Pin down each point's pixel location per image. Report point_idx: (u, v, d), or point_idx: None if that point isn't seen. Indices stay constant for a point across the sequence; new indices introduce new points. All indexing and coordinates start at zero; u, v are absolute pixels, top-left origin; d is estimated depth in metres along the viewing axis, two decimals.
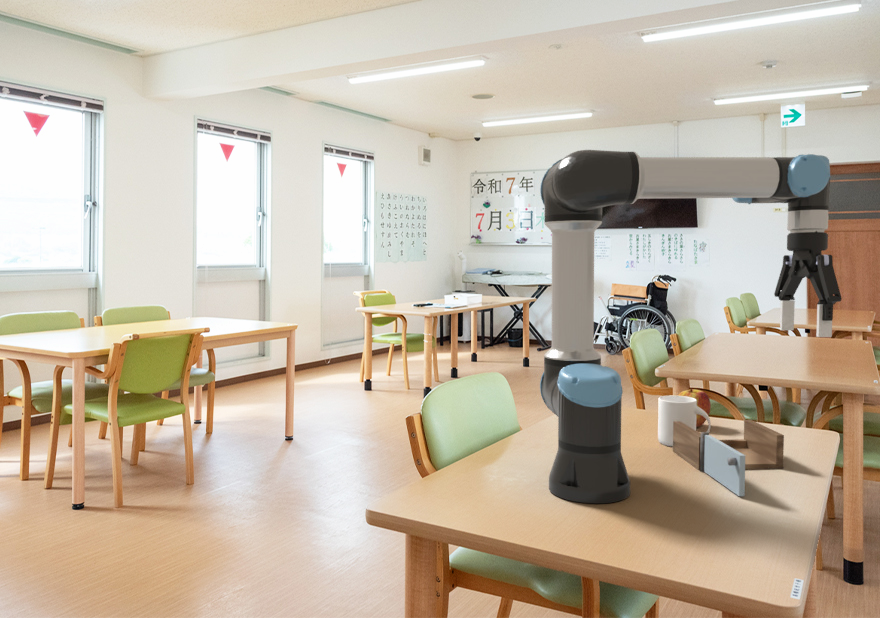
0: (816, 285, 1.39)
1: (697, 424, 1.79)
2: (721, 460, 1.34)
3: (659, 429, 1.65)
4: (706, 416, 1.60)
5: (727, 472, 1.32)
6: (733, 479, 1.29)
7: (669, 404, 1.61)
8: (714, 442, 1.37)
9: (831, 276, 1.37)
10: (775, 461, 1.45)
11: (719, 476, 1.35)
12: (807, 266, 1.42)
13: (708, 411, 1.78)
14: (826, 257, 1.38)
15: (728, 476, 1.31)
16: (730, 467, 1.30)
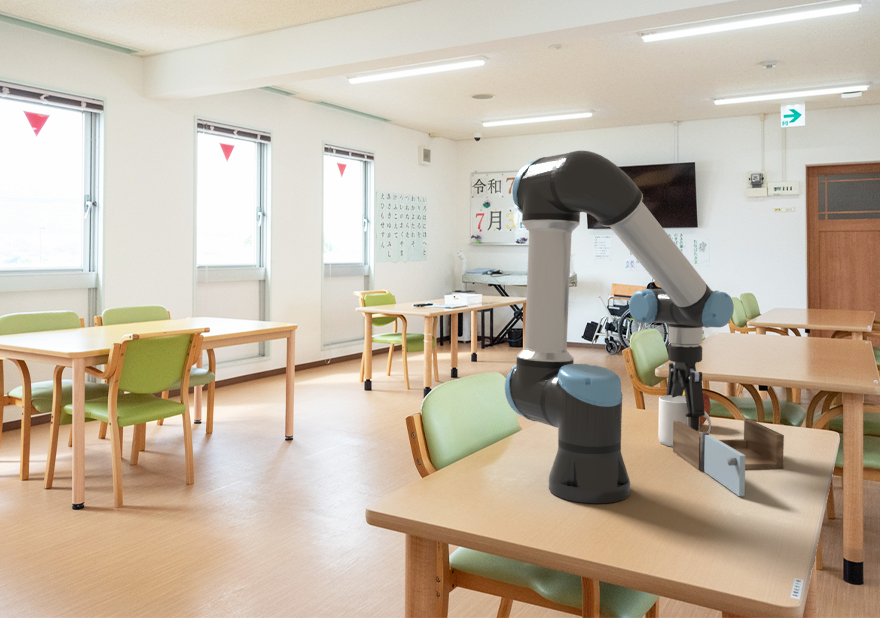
0: (687, 398, 1.59)
1: None
2: (721, 460, 1.34)
3: (659, 429, 1.65)
4: (706, 416, 1.60)
5: (727, 472, 1.32)
6: (733, 479, 1.29)
7: (669, 404, 1.61)
8: (714, 442, 1.37)
9: (699, 392, 1.56)
10: (775, 461, 1.45)
11: (719, 476, 1.35)
12: (683, 377, 1.61)
13: (708, 411, 1.78)
14: (697, 375, 1.57)
15: (728, 476, 1.31)
16: (730, 467, 1.30)
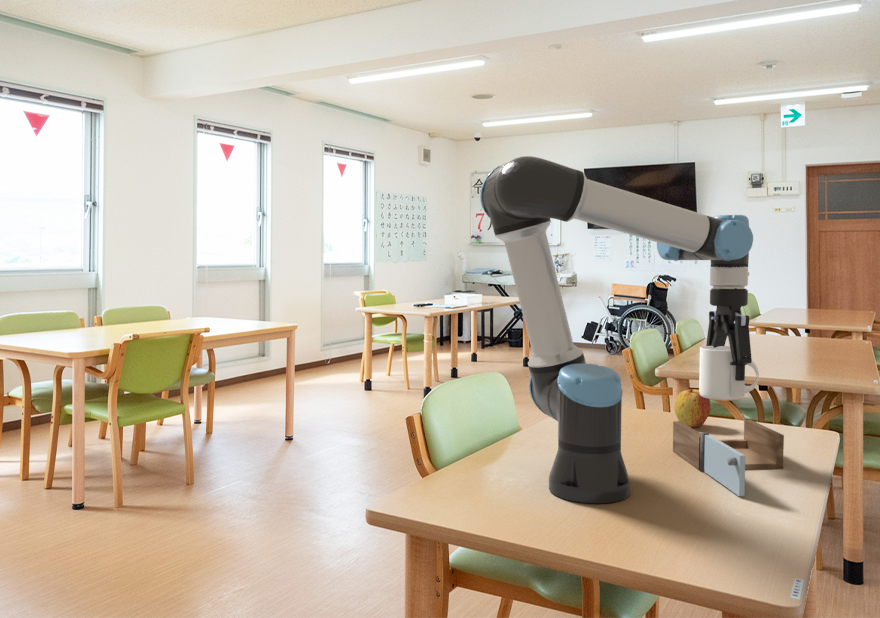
0: (732, 344, 1.45)
1: (697, 424, 1.79)
2: (721, 460, 1.34)
3: (701, 381, 1.50)
4: (754, 366, 1.46)
5: (727, 472, 1.32)
6: (733, 479, 1.29)
7: (713, 353, 1.47)
8: (714, 442, 1.37)
9: (745, 338, 1.43)
10: (775, 461, 1.45)
11: (719, 476, 1.35)
12: (727, 323, 1.47)
13: (708, 411, 1.78)
14: (744, 319, 1.43)
15: (728, 476, 1.31)
16: (730, 467, 1.30)
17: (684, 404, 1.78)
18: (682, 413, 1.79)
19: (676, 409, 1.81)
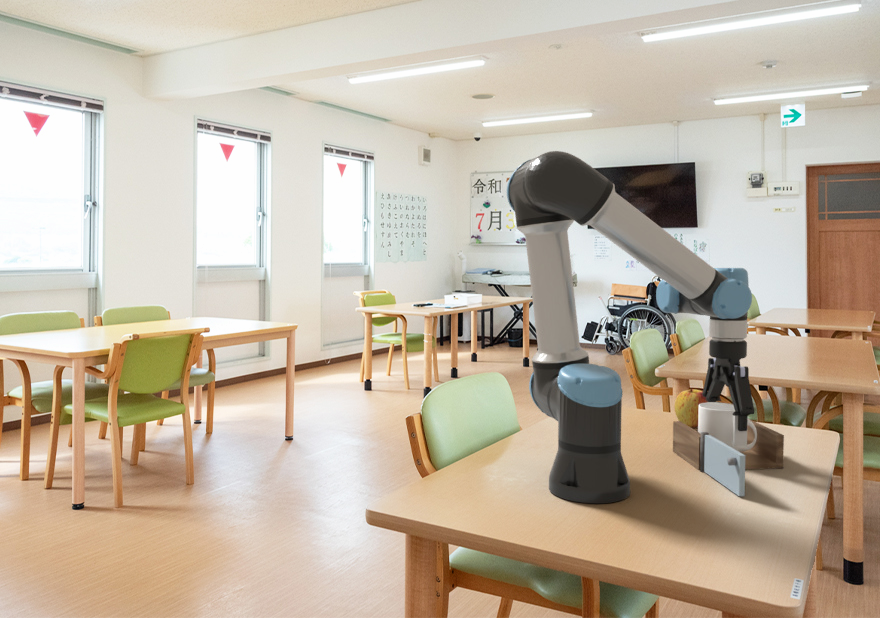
0: (733, 395, 1.45)
1: (697, 424, 1.79)
2: (721, 460, 1.34)
3: None
4: (752, 425, 1.47)
5: (727, 472, 1.32)
6: (733, 479, 1.29)
7: (711, 412, 1.48)
8: (714, 442, 1.37)
9: (746, 388, 1.42)
10: (775, 461, 1.45)
11: (719, 476, 1.35)
12: (726, 374, 1.47)
13: None
14: (743, 369, 1.43)
15: (728, 476, 1.31)
16: (730, 467, 1.30)
17: (684, 404, 1.78)
18: (682, 413, 1.79)
19: (676, 409, 1.81)
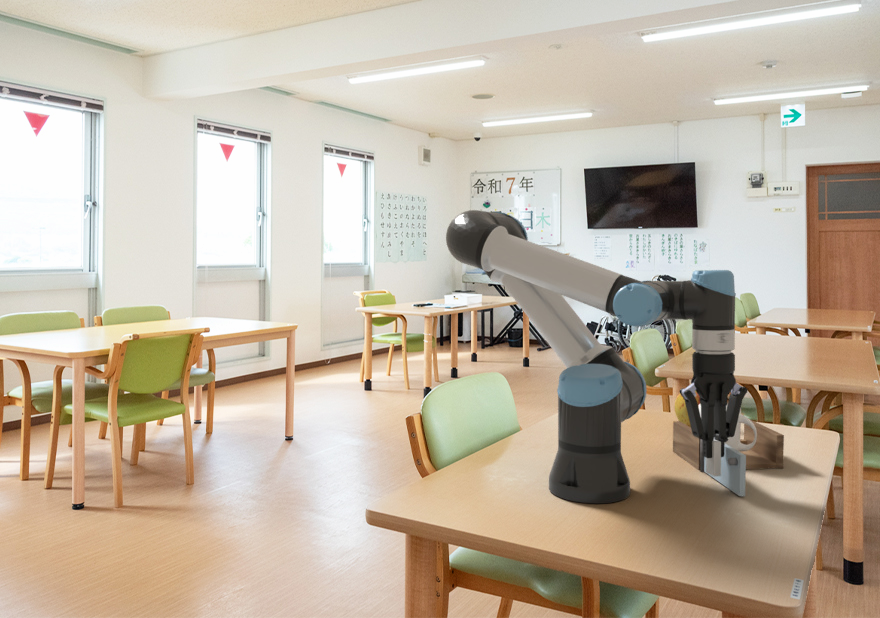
0: None
1: None
2: (721, 460, 1.34)
3: None
4: (752, 425, 1.47)
5: (727, 472, 1.32)
6: (734, 479, 1.29)
7: None
8: None
9: (691, 413, 1.31)
10: (775, 461, 1.45)
11: (719, 476, 1.35)
12: None
13: None
14: (683, 394, 1.30)
15: (728, 476, 1.31)
16: (730, 467, 1.30)
17: (684, 404, 1.78)
18: (682, 413, 1.79)
19: (676, 409, 1.81)
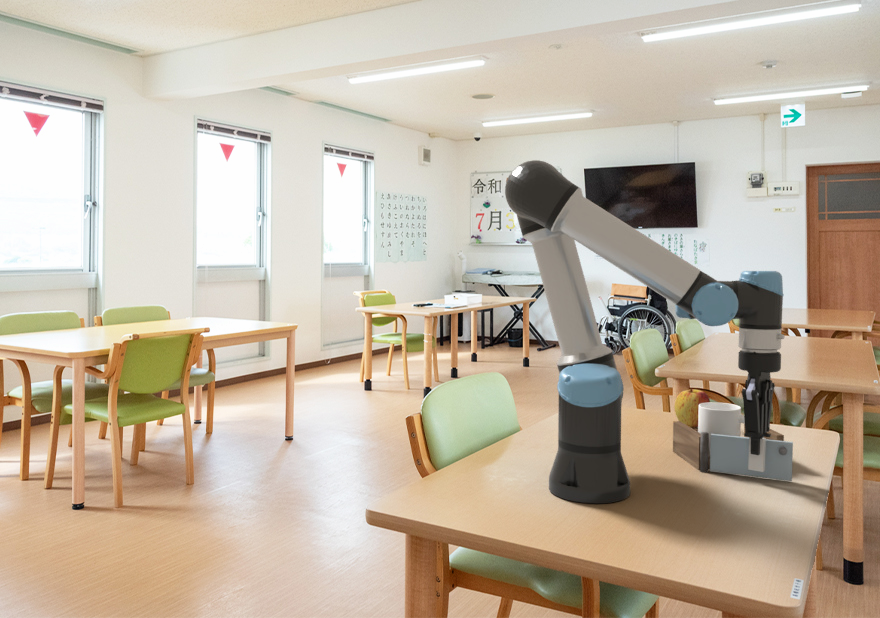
0: None
1: (697, 424, 1.79)
2: None
3: None
4: None
5: (765, 463, 1.37)
6: (778, 467, 1.36)
7: (711, 412, 1.48)
8: (734, 438, 1.40)
9: (752, 413, 1.31)
10: None
11: (746, 469, 1.39)
12: None
13: None
14: (749, 394, 1.30)
15: (767, 467, 1.37)
16: (771, 457, 1.37)
17: (684, 404, 1.78)
18: (682, 413, 1.79)
19: (676, 409, 1.81)
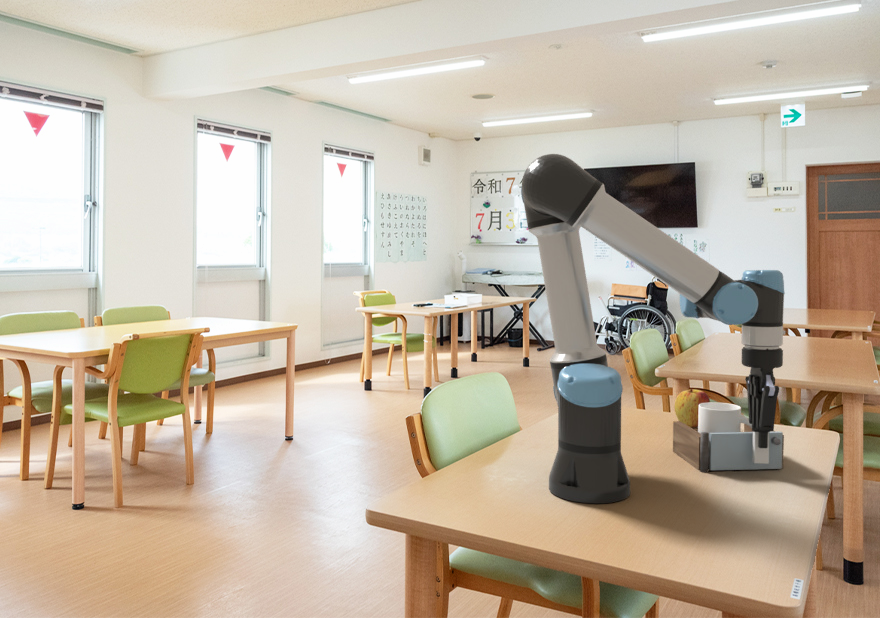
0: (757, 411, 1.38)
1: (697, 424, 1.79)
2: (747, 447, 1.43)
3: None
4: None
5: None
6: (771, 457, 1.43)
7: (711, 412, 1.48)
8: (732, 435, 1.43)
9: (771, 408, 1.35)
10: None
11: (743, 464, 1.43)
12: (757, 387, 1.38)
13: None
14: (772, 391, 1.33)
15: None
16: None
17: (684, 404, 1.78)
18: (682, 413, 1.79)
19: (676, 409, 1.81)
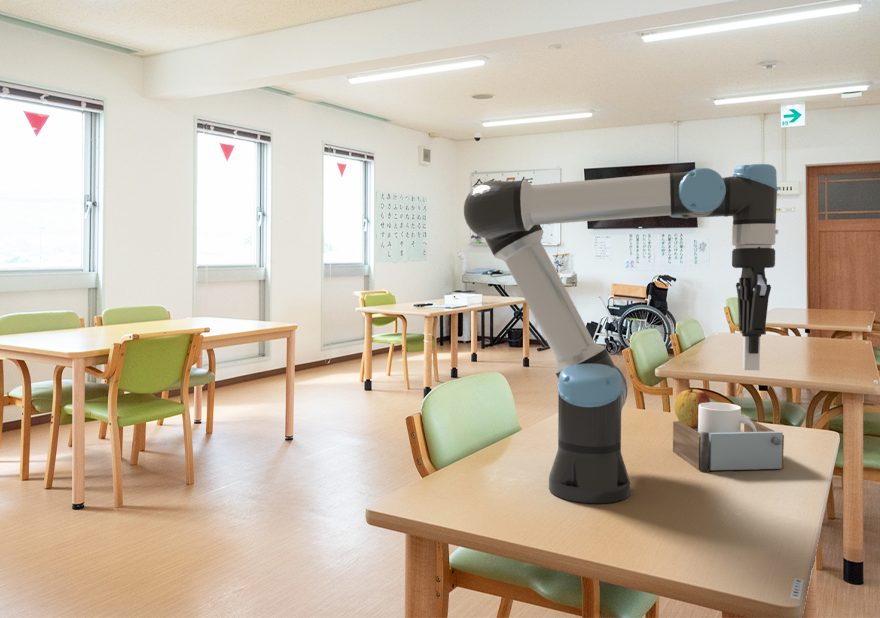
0: (748, 314, 1.32)
1: (697, 424, 1.79)
2: (747, 447, 1.43)
3: None
4: (752, 425, 1.47)
5: (759, 455, 1.43)
6: (770, 457, 1.43)
7: (711, 412, 1.48)
8: (732, 435, 1.43)
9: (762, 309, 1.28)
10: None
11: (743, 463, 1.43)
12: (748, 289, 1.31)
13: None
14: (764, 289, 1.27)
15: (761, 458, 1.43)
16: (765, 448, 1.43)
17: (684, 404, 1.78)
18: (682, 413, 1.79)
19: (676, 409, 1.81)
